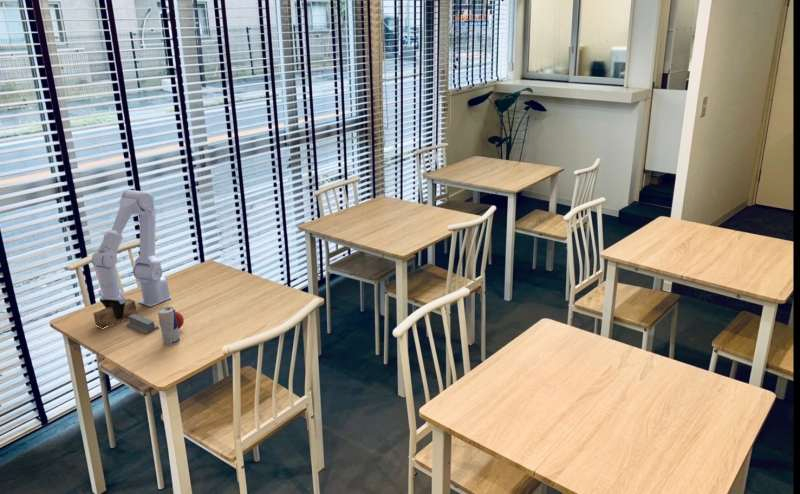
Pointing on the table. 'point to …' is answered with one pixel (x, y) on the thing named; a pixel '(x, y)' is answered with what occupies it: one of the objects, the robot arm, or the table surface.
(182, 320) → the onion
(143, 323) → the ridge
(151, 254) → the robot arm
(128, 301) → the batten
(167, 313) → the energy drink
